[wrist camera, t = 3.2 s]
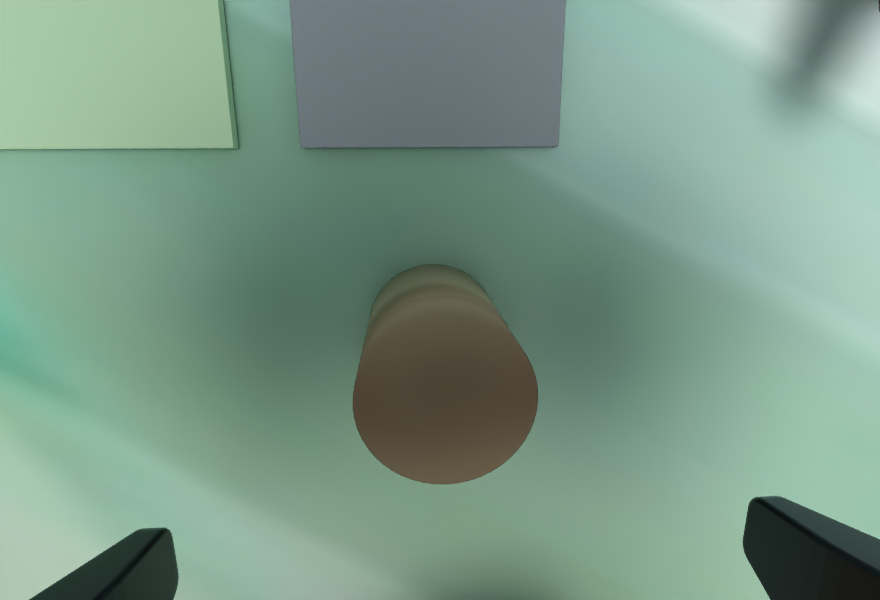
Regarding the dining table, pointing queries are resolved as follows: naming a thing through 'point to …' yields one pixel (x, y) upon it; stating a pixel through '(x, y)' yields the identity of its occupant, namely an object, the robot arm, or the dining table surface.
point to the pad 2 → (428, 72)
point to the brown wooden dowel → (441, 379)
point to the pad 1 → (115, 75)
